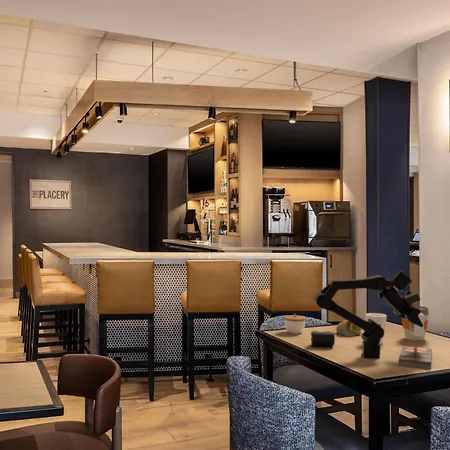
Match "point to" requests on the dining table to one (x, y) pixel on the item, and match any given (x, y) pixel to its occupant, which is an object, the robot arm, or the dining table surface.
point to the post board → (415, 357)
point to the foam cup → (377, 320)
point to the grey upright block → (417, 327)
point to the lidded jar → (294, 323)
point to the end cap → (322, 339)
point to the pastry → (348, 329)
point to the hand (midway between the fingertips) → (420, 325)
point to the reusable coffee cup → (407, 325)
